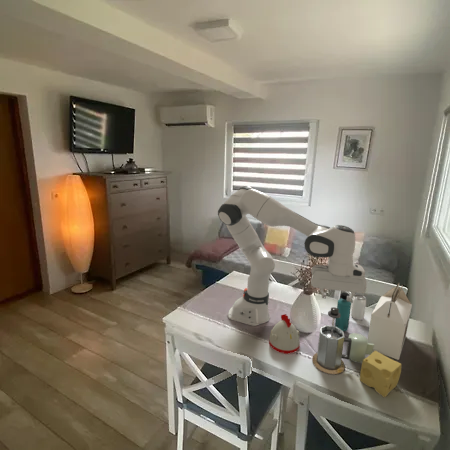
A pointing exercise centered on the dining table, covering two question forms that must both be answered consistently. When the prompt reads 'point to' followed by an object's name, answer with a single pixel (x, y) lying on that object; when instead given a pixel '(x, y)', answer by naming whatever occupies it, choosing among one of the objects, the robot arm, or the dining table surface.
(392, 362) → the cheese
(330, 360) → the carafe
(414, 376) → the dining table surface
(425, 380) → the dining table surface
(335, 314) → the plunger
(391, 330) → the gable box
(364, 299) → the can
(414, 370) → the dining table surface
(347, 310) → the beverage bottle
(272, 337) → the kitchen timer
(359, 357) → the mug
